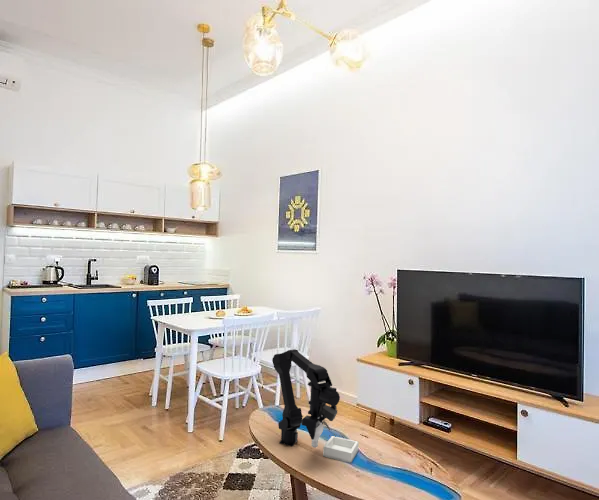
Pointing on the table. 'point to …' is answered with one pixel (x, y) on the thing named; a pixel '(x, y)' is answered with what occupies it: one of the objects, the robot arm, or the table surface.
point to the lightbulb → (317, 435)
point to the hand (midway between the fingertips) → (315, 436)
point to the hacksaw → (327, 425)
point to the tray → (340, 449)
